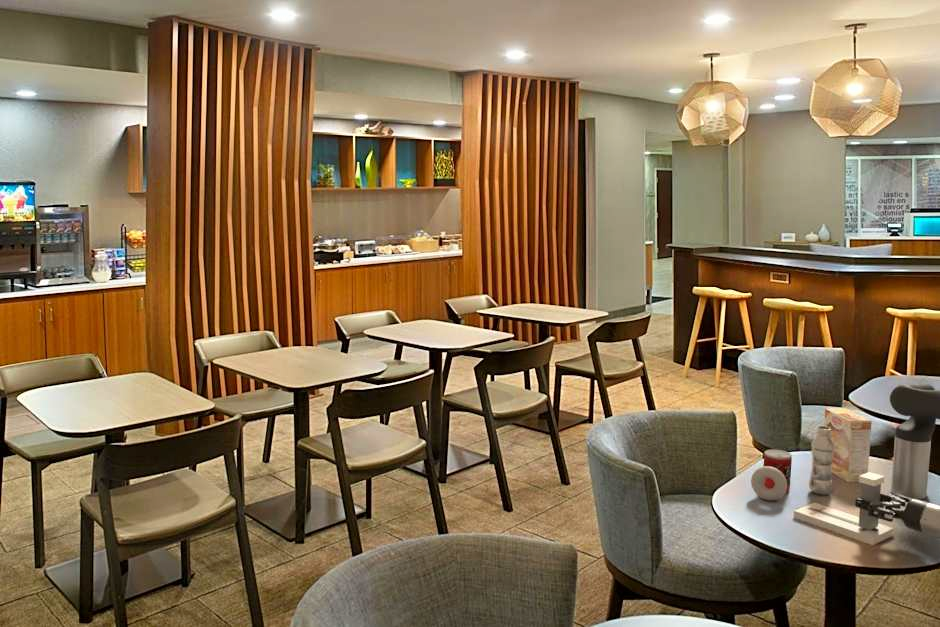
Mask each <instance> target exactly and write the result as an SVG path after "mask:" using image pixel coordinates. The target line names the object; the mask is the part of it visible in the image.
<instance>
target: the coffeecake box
mask: <svg viewBox="0 0 940 627" xmlns="http://www.w3.org/2000/svg"><path fill="white" fill-rule="evenodd" d="M824 410H825V411H824V425H823V426H826V427H829V428H831V435H830V438H831V439H832V440H833V442H834V445H835V450H834V454H833V459H832V464H831V465H832V466H831V474H834V475H835V474H836V476H837V477H839V478H841V479H842V480H844V481H846V482H847V483H852V482H853V483H855V482H854V481H856V482H859V476H860V475H863V474H865V473H868V472H869V463H870V451H871V450H870V449H871V438H872V437H871V434H872V424H873V423H872V420H871V419H869V418H866V417H864V416H863V415H860V414H858V413H856V412H854V411H852V410H849V409H847V408H845V407H839V408H838V407H834V408H833V407H829V408H825V409H824Z"/></svg>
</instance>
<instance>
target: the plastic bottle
mask: <svg viewBox="0 0 940 627" xmlns="http://www.w3.org/2000/svg"><path fill="white" fill-rule="evenodd" d="M816 434H817V435H816V436H815V437H814V438H813V440H812V442H811V455H812V458H811V459H812V460H811V462H812V464H811V465H812V466H811V472H810V476H809V480H808V488H809V489H810V490H809V491H811V492H812V493H814V494H816V495H829V494H830V493H831V492H832V489H833V479H832V472H831V466H832V465H831V464H832V459H833V454H834V450H835V445H834V442H833V440H832V439H831V438H830V435H831V428H829V427H826V426H824V425H819V426H817V430H816Z"/></svg>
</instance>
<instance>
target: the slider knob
mask: <svg viewBox="0 0 940 627" xmlns="http://www.w3.org/2000/svg"><path fill="white" fill-rule="evenodd" d="M885 477H886V476H884V475H881V474H878V473H874V472H870V471H868V473H865V474H863V475H860V476H859V481H858V483H860V484H861V486H860V487H861V489H860V499H862V500H865V501H869V502H871V503H880V493H882V491H881V490H882V484H883V483H885ZM876 507H877V506H876ZM876 511H877V510H876ZM858 517H859V527H862V528H865V529H868V530H871V529H874V528H876V527H878V523H879V520H880V519H879V518H876V517H872V516H869V515H868V511H867V510H864V509H861V508H859V516H858Z"/></svg>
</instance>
